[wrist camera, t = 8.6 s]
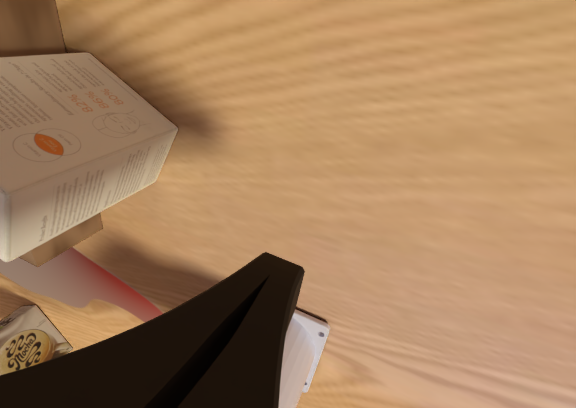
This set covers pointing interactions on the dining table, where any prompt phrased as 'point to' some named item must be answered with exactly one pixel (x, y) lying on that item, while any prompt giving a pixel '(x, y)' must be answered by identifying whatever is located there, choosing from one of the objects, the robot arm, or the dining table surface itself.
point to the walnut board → (26, 42)
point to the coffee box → (28, 340)
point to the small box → (70, 145)
